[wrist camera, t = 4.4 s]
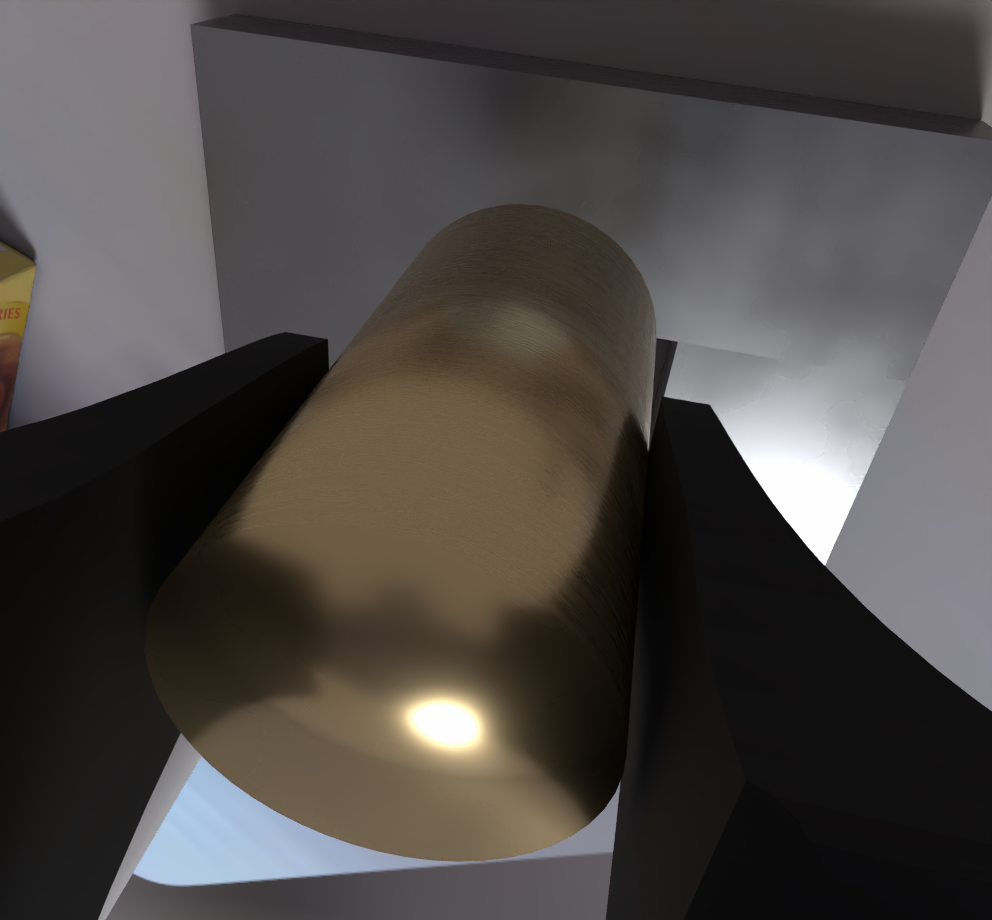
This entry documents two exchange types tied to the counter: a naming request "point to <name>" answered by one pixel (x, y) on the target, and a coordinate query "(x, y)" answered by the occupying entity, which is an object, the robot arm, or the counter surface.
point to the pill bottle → (154, 814)
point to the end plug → (437, 559)
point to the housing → (605, 218)
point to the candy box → (12, 319)
